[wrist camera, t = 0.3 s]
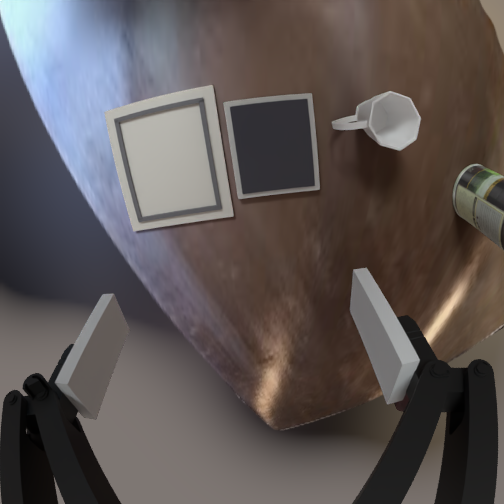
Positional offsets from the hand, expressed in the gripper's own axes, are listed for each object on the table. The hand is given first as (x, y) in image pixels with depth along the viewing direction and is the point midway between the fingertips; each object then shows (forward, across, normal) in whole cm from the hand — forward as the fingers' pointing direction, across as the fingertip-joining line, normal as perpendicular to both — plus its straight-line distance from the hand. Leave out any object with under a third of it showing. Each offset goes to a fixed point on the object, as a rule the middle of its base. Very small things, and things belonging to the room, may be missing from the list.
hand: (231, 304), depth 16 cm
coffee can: (+27, +39, -4) cm, 48 cm away
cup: (+27, +17, +7) cm, 33 cm away
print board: (+27, -9, +4) cm, 28 cm away
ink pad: (+27, +5, +4) cm, 27 cm away
